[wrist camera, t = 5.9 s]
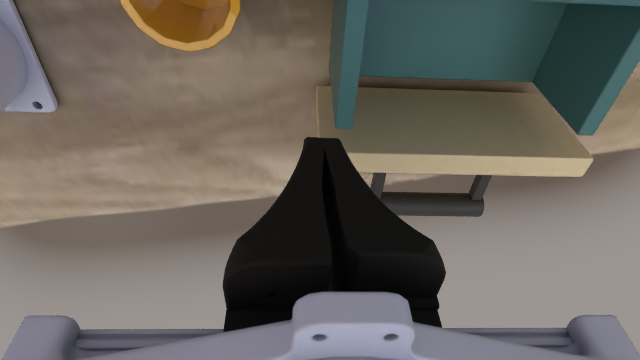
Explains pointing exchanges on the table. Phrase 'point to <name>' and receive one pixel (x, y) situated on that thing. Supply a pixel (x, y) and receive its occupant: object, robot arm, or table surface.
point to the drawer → (472, 106)
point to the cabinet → (593, 2)
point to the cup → (184, 21)
